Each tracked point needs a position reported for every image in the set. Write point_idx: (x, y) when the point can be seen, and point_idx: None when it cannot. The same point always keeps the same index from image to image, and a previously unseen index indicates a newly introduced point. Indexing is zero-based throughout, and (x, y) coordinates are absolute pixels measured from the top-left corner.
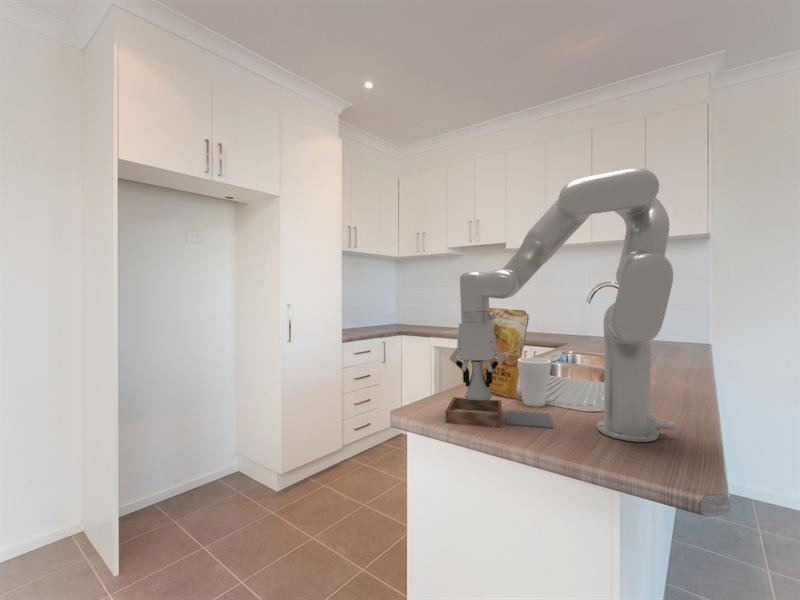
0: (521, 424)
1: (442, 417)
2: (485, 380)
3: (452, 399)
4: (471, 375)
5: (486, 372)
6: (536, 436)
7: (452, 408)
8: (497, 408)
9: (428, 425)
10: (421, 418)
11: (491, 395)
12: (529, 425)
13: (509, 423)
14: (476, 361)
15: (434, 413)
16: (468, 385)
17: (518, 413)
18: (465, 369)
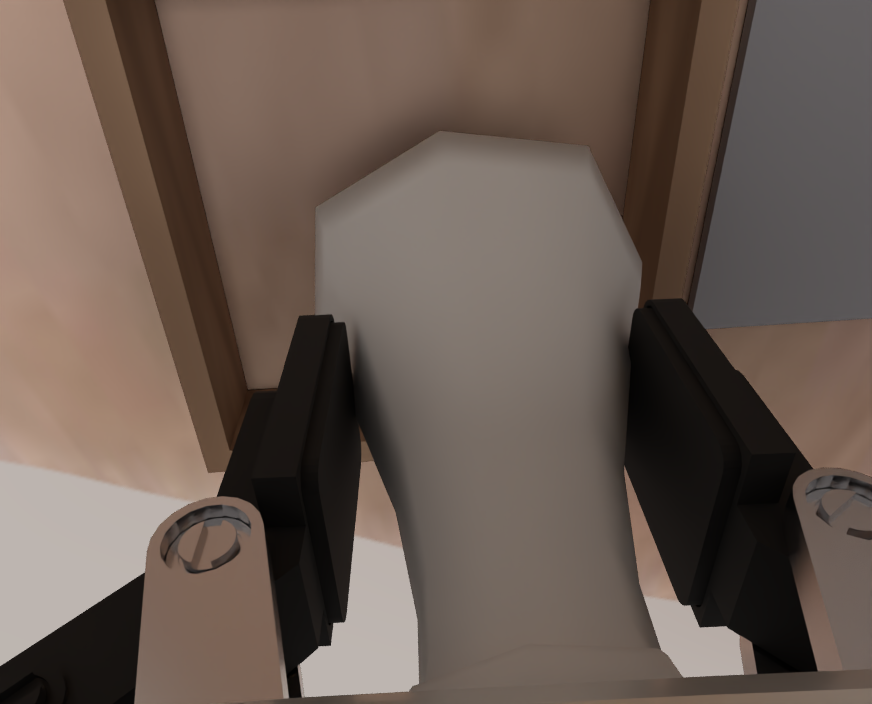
0: (794, 322)
1: (152, 313)
2: (625, 414)
3: (94, 81)
4: (398, 513)
5: (693, 602)
6: (827, 454)
7: (192, 251)
8: (657, 281)
9: (140, 486)
10: (5, 384)
11: (640, 275)
12: (850, 316)
13: (706, 328)
14: (532, 684)
15: (26, 232)
16: (360, 446)
17: (865, 18)
18: (291, 678)
